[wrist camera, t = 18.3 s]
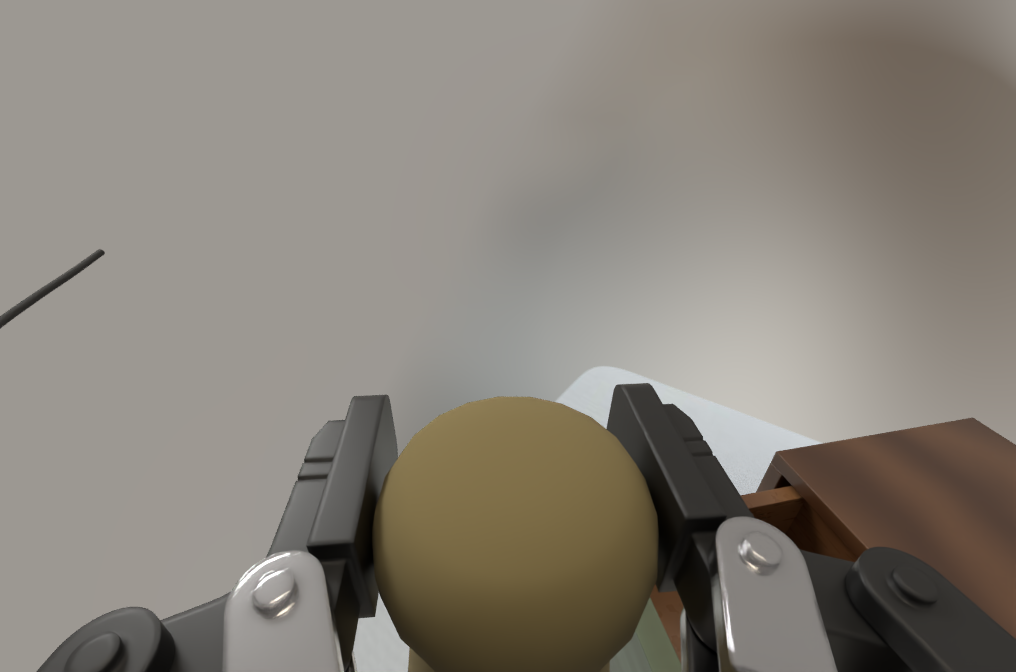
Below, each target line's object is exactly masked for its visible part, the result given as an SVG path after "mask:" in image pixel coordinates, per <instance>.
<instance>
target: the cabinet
mask: <svg viewBox="0 0 1016 672" xmlns="http://www.w3.org/2000/svg"><path fill="white" fill-rule="evenodd" d="M788 486H793V487H794V488H795V489H796V491H797V492H798V493H799V494H800V495H801V496H802V497H803V498H804V499H805V500H806V502H807V503H808V504H809V505H810V506H811V507H812V508H813V509H814V510H815V511H816V513H817V514H818V515H819V516H820V517H821V518H822V519H823V520H824V521H825V522H826V524H827V525H828V526H829V527H830V528H831V529H832V530H833V531H834V532H835V533H836V535H837V536H838V537H839V538H840V539H841V540H842V541H843V542H844V543H845V544H846V546H847V547H848V548H849V549H850V550H851V551H852V552H853V553H854V554H855V556H856V557H857V558H859V557H860V556H861V554H862V553H863V552H864V551H865V550H867V549H869V548H872V547H890V548H894V549H898V550H901V551H903V552H906V553H908V554H911V555H913V556H915V557H917V558H919V559H920V560H922V561H924V562H925V563H927V564H928V565H930V566H931V567H933V568H934V569H935V570H937V571H938V572H939V573H940V574H942V575H943V576H944V577H945V578H946V579H947V580H949V581H950V582H951V583H952V584H953V585H954V586H956V587H957V588H958V589H959V590H960V591H961V592H962V593H964V594H965V595H966V596H967V597H968V598H969V599H970V600H972V601H973V602H974V603H975V604H976V605H977V606H978V607H980V608H981V609H982V610H983V611H984V612H985V613H987V614H988V615H989V616H990V617H991V618H992V619H993V620H995V621H996V622H997V623H998V624H999V625H1000V626H1001V627H1003V628H1004V629H1005V630H1006V631H1007V632H1008V633H1009V634H1011V635H1012V636H1013V637H1014V638H1015V639H1016V445H1015V444H1013V443H1012V442H1010V441H1009V440H1007V439H1006V438H1004V437H1002V436H1001V435H999V434H998V433H996V432H994V431H993V430H991V429H990V428H988V427H987V426H985V425H983V424H982V423H981V422H979V421H977V420H976V419H974V418H968V419H962V420H956V421H951V422H945V423H939V424H934V425H927V426H922V427H917V428H910V429H905V430H899V431H893V432H887V433H882V434H876V435H870V436H864V437H858V438H853V439H847V440H841V441H836V442H830V443H824V444H818V445H812V446H806V447H800V448H795V449H789V450H783V451H777V452H776V453H775V455H774V457H773V459H772V461H771V463H770V465H769V467H768V469H767V471H766V473H765V475H764V477H763V479H762V481H761V483H760V485H759V487H758V489H757V491H756V493H757V492H762V491H767V490H772V489H778V488H783V487H788Z"/></svg>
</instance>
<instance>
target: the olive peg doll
mask: <svg viewBox="0 0 1016 672" xmlns="http://www.w3.org/2000/svg"><path fill="white" fill-rule="evenodd" d="M658 540H659V533H658V519H657V513H656V510H655V507H654V504H653V501H652V498H651V495H650V492H649V489H648V486H647V483H646V480H645V478H644V476H643V475H642V473H641V471H640V470H639V468H638V466H637V465H636V463H635V462H634V461H633V459H632V458H631V456H630V455H629V454H628V452H627V451H626V450H625V448H624V447H623V446H622V444H621V443H620V441H619V440H618V439H617V437H616V436H614V435H613V434H612V433H610V432H609V431H608V430H607V429H605V428H604V427H603V426H601V425H600V424H599V423H598V422H596V421H595V420H594V419H593V418H591V417H589V416H587V415H585V414H583V413H581V412H579V411H576V410H574V409H572V408H570V407H568V406H565V405H563V404H560V403H556V402H551V401H547V400H542V399H538V398H533V397H494V398H489V399H484V400H479V401H475V402H469V403H466V404H464V405H462V406H459V407H457V408H455V409H453V410H451V411H448V412H446V413H444V414H442V415H439V416H438V417H437V418H435V419H434V420H433V421H432V422H430V423H429V424H428V425H427V426H425V427H424V428H423V429H422V430H420V431H419V432H418V433H417V434H415V435H414V436H413V438H412V439H411V441H410V442H409V443H408V445H407V446H406V447H405V449H404V450H403V452H402V453H401V455H400V456H399V457H398V459H397V460H396V462H395V463H394V465H393V466H392V467H391V469H390V470H389V472H388V473H387V475H386V476H385V478H384V482H383V485H382V489H381V492H380V496H379V499H378V503H377V506H376V510H375V514H374V520H373V526H372V548H373V561H374V574H375V580H376V583H377V586H378V590H379V593H380V596H381V599H382V601H383V603H384V605H385V607H386V609H387V611H388V613H389V615H390V617H391V620H392V622H393V624H394V626H395V628H396V630H397V632H398V634H399V636H400V638H401V640H402V641H404V642H405V643H406V644H407V645H408V646H409V647H410V651H409V666H408V672H610V660H611V659H612V658H613V657H614V656H615V655H616V654H617V653H618V652H619V651H620V650H621V649H622V648H623V647H624V646H625V645H626V644H627V643H628V642H629V641H630V640H631V639H632V637H633V635H634V633H635V630H636V628H637V626H638V623H639V621H640V619H641V616H642V614H643V612H644V609H645V607H646V605H647V602H648V600H649V598H650V595H651V593H652V590H653V588H654V585H655V583H656V580H657V573H658Z"/></svg>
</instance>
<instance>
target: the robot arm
mask: <svg viewBox="0 0 1016 672" xmlns="http://www.w3.org/2000/svg"><path fill="white" fill-rule="evenodd" d="M104 254H105V252H104V251H103V250H101V249H99V250H97V251H96V252H94V253H93V254H91V255H90V256H88V257H87V258H86V259H84V260H83V261H81V262H80V263H79V264H77V265H76V266H74V267H73V268H71V269H70V270H68V271H67V272H65V273H64V274H62V275H61V276H59V277H58V278H56V279H55V280H53V281H51V282H50V283H48V284H47V285H45V286H44V287H42V288H40V289H39V290H37V291H36V292H35V293H33V294H32V295H30V296H29V297H27V298H26V299H24V300H23V301H21V302H20V303H18V304H17V305H16V306H14V307H12V308H11V309H10V310H8V311H7V312H5V313H4V314H2V315H1V316H0V329H1V328H2V327H3V326H4V325H6V324H7V323H8V322H10V321H11V320H12V319H14V318H15V317H16V316H18V315H19V314H21V313H22V312H23V311H25V310H26V309H27V308H29V307H30V306H32V305H33V304H35V303H36V302H37V301H39V300H40V299H42V298H43V297H45V296H46V295H48V294H49V293H50V292H52V291H53V290H55V289H56V288H58V287H59V286H61V285H62V284H64V283H65V282H67V281H68V280H70V279H71V278H73V277H74V276H76V275H77V274H78V273H80V272H81V271H82V270H84V269H85V268H87V267H88V266H89V265H91V264H92V263H93V262H95V261H96V260H97V259H99V258H100V257H101V256H103V255H104ZM607 430H608V431H609V432H610V433H612V434H613V435H614V436H616V437H617V439H618V440H619V441H620V443H621V444H622V446H623V447H624V448H625V450H626V451H627V452H628V454H629V455H630V456H631V458H632V459H633V461H634V462H635V463H636V465H637V466H638V468H639V470H640V471H641V473H642V475H643V476H644V478H645V480H646V483H647V486H648V489H649V492H650V495H651V498H652V501H653V504H654V507H655V510H656V513H657V519H658V533H659V540H658V573H657V580H656V583H655V584H656V587H657V589H658V592H659V593H660V592H671V591H677V592H678V594H679V597H680V599H681V602H682V604H683V606H684V607H683V609H682V611H681V615H680V640H681V669H682V672H1016V639H1015V638H1014V637H1013V636H1012V635H1011V634H1009V633H1008V632H1007V631H1006V630H1005V629H1004V628H1003V627H1001V626H1000V625H999V624H998V623H997V622H996V621H995V620H993V619H992V618H991V617H990V616H989V615H988V614H987V613H985V612H984V611H983V610H982V609H981V608H980V607H978V606H977V605H976V604H975V603H974V602H973V601H972V600H970V599H969V598H968V597H967V596H966V595H965V594H964V593H962V592H961V591H960V590H959V589H958V588H957V587H956V586H954V585H953V584H952V583H951V582H950V581H949V580H947V579H946V578H945V577H944V576H943V575H942V574H940V573H939V572H938V571H937V570H935V569H934V568H933V567H931V566H930V565H928V564H927V563H925V562H924V561H922V560H920V559H919V558H917V557H915V556H913V555H911V554H908V553H906V552H903V551H901V550H898V549H894V548H890V547H872V548H869V549H867V550H865V551H864V552H863V553H862V554H861V556H860V557H859V558H858V560H857V561H856V562H851V561H847V560H843V559H838V558H834V557H829V556H825V555H820V554H816V553H812V552H808V551H804V550H801V549H798V548H797V546H796V545H795V544H794V543H793V542H792V540H791V539H790V538H789V537H787V536H786V535H785V534H784V533H783V532H781V531H780V530H778V529H777V528H776V527H774V526H772V525H770V524H768V523H766V522H764V521H761V520H758V519H755V517H754V516H753V514H752V513H751V512H750V510H749V508H748V507H747V505H746V504H745V502H744V501H743V499H742V497H741V496H740V494H739V493H738V491H737V490H736V488H735V486H734V485H733V483H732V482H731V480H730V479H729V477H728V475H727V474H726V472H725V471H724V469H723V468H722V466H721V464H720V463H719V461H718V460H717V458H716V457H715V456H713V454H712V450H711V449H710V447H709V446H708V444H707V442H706V441H704V440H703V436H702V435H701V433H700V431H699V430H698V428H697V427H696V425H695V424H694V422H693V421H692V419H691V418H690V417H689V416H687V415H686V414H685V413H684V412H682V411H681V410H680V409H679V408H677V407H676V406H675V405H674V404H662V402H661V401H660V399H659V397H658V395H657V394H656V392H655V390H654V388H653V387H652V386H651V385H650V384H649V383H642V384H621V385H616V387H615V389H614V392H613V397H612V403H611V408H610V413H609V419H608V424H607ZM397 459H398V452H397V441H396V435H395V429H394V423H393V417H392V411H391V404H390V399H389V396H388V395H372V396H354V397H353V398H352V400H351V403H350V406H349V409H348V413H347V416H346V419H345V420H337V421H328V422H327V423H326V424H325V425H324V426H323V428H322V429H321V430H320V431H319V432H318V433H317V434H316V435H315V436H314V437H313V438H312V441H311V443H310V446H309V449H308V451H307V454H306V456H305V459H304V463H303V464H302V467H301V469H300V472H299V474H298V481H296V482H295V485H294V488H293V490H292V493H291V496H290V498H289V501H288V503H287V506H286V508H285V511H284V514H283V516H282V519H281V522H280V524H279V527H278V529H277V532H276V535H275V537H274V540H273V543H272V545H271V548H270V550H269V552H268V554H267V556H266V558H265V559H263V560H262V561H260V562H258V563H257V564H255V565H254V566H253V567H252V568H250V569H249V570H248V571H247V572H246V573H245V574H244V575H243V576H242V577H241V578H240V580H239V581H238V582H237V583H236V585H235V586H234V588H233V589H232V591H231V592H229V593H228V594H226V595H224V596H222V597H220V598H217V599H215V600H213V601H210V602H208V603H205V604H202V605H200V606H197V607H194V608H192V609H189V610H187V611H184V612H182V613H179V614H176V615H173V616H171V617H168V618H166V619H163V620H159V619H158V618H157V616H156V615H155V614H154V613H153V612H152V611H150V610H148V609H146V608H142V607H127V608H121V609H118V610H114V611H111V612H109V613H106V614H104V615H102V616H100V617H98V618H96V619H94V620H92V621H91V622H89V623H88V624H86V625H84V626H83V627H81V628H80V629H79V630H78V631H76V632H75V633H73V634H72V635H71V636H70V637H69V638H67V639H66V640H65V641H64V642H63V643H62V644H61V645H60V646H59V647H58V648H57V649H56V650H55V651H54V652H53V653H52V654H51V656H50V657H49V658H48V659H47V660H46V661H45V663H44V664H43V665H42V666H41V667H40V668H39V669H38V671H37V672H357V667H356V662H355V657H354V652H353V646H354V641H355V635H356V630H357V624H358V618H367V617H375V613H376V606H377V600H378V593H379V590H378V586H377V583H376V580H375V574H374V561H373V548H372V526H373V520H374V514H375V510H376V506H377V503H378V499H379V496H380V492H381V489H382V485H383V482H384V478H385V476H386V475H387V473H388V472H389V470H390V469H391V467H392V466H393V465H394V463H395V462H396V460H397Z"/></svg>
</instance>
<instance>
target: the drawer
mask: <svg viewBox="0 0 1016 672" xmlns="http://www.w3.org/2000/svg"><path fill="white" fill-rule="evenodd" d="M741 497H742V499H743V501H744V502H745V504H746V505H747V507H748V508H749V510H750V512H751V513H752V514H753V516H754V517H755V519H758V520H761V521H764V522H766V523H768V524H770V525H772V526H774V527H776V528H777V529H778V530H780V531H781V532H783V533H784V534H785V535H786V536H787V537H789V538H790V539H791V540H792V542H793V543H794V544H795V545H796V546H797V548H798V549H801V550H804V551H808V552H812V553H816V554H820V555H825V556H829V557H834V558H838V559H843V560H847V561H851V562H856V561H857V560H858V558H857V557H856V556H855V554H854V553H853V552H852V551H851V550H850V549H849V548H848V547H847V546H846V544H845V543H844V542H843V541H842V540H841V539H840V538H839V537H838V536H837V535H836V533H835V532H834V531H833V530H832V529H831V528H830V527H829V526H828V525H827V524H826V522H825V521H824V520H823V519H822V518H821V517H820V516H819V515H818V514H817V513H816V511H815V510H814V509H813V508H812V507H811V506H810V505H809V504H808V503H807V502H806V500H805V499H804V498H803V497H802V496H801V495H800V494H799V493H798V492H797V491H796V489H795V488H794V487H793V486H788V487H783V488H778V489H772V490H767V491H762V492H757V493H751V494H746V495H741ZM683 607H684V606H683V604H682V602H681V599H680V597H679V594H678V592H677V591H671V592H660V593H659V592H658V589H657V587H656V584H655V585H654V588H653V590H652V593H651V595H650V598H649V600H648V602H647V605H646V607H645V609H644V612H643V614H642V616H641V619H640V621H639V623H638V626H637V628H636V630H635V633H634V635H633V637H632V639H631V640H630V641H629V642H628V643H627V644H626V645H625V646H624V647H623V648H622V649H621V650H620V651H619V652H618V653H617V654H616V655H615V656H614V657H613V658H612V659H611V660H610V672H682V669H681V640H680V615H681V611H682V609H683Z"/></svg>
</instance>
